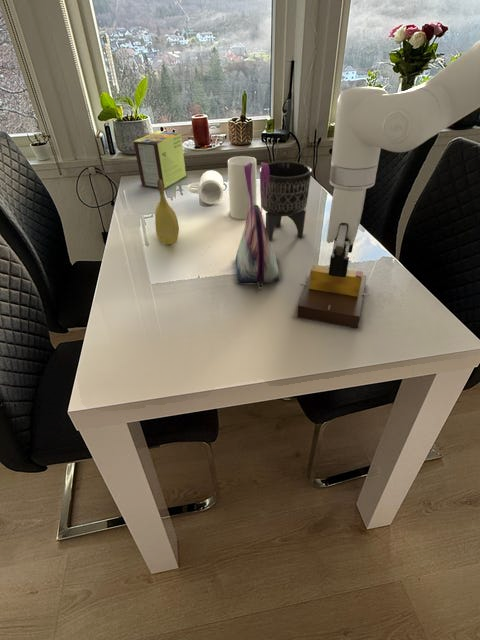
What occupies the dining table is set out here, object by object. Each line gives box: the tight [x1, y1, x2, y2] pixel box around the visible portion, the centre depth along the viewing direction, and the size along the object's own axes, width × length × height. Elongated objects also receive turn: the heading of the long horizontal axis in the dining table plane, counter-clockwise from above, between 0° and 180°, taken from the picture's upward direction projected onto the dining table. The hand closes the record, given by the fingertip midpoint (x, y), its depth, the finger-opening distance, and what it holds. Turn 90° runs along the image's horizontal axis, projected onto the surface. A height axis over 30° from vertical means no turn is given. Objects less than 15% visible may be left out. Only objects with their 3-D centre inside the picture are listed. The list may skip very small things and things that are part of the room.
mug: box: [186, 169, 224, 206], centre depth 124 cm, size 12×10×8 cm
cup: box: [227, 155, 258, 220], centre depth 111 cm, size 8×8×16 cm
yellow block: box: [309, 264, 364, 297], centre depth 76 cm, size 10×2×5 cm, turn 71°
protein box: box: [132, 130, 187, 189], centre depth 137 cm, size 10×15×16 cm
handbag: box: [235, 161, 281, 291], centre depth 82 cm, size 21×10×25 cm, turn 3°
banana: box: [154, 179, 180, 245], centre depth 97 cm, size 23×6×20 cm, turn 15°
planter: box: [259, 160, 312, 241], centre depth 99 cm, size 13×13×18 cm
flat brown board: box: [296, 268, 370, 329], centre depth 79 cm, size 15×14×3 cm
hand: (340, 263), depth 73 cm, fingers open, 9 cm apart
